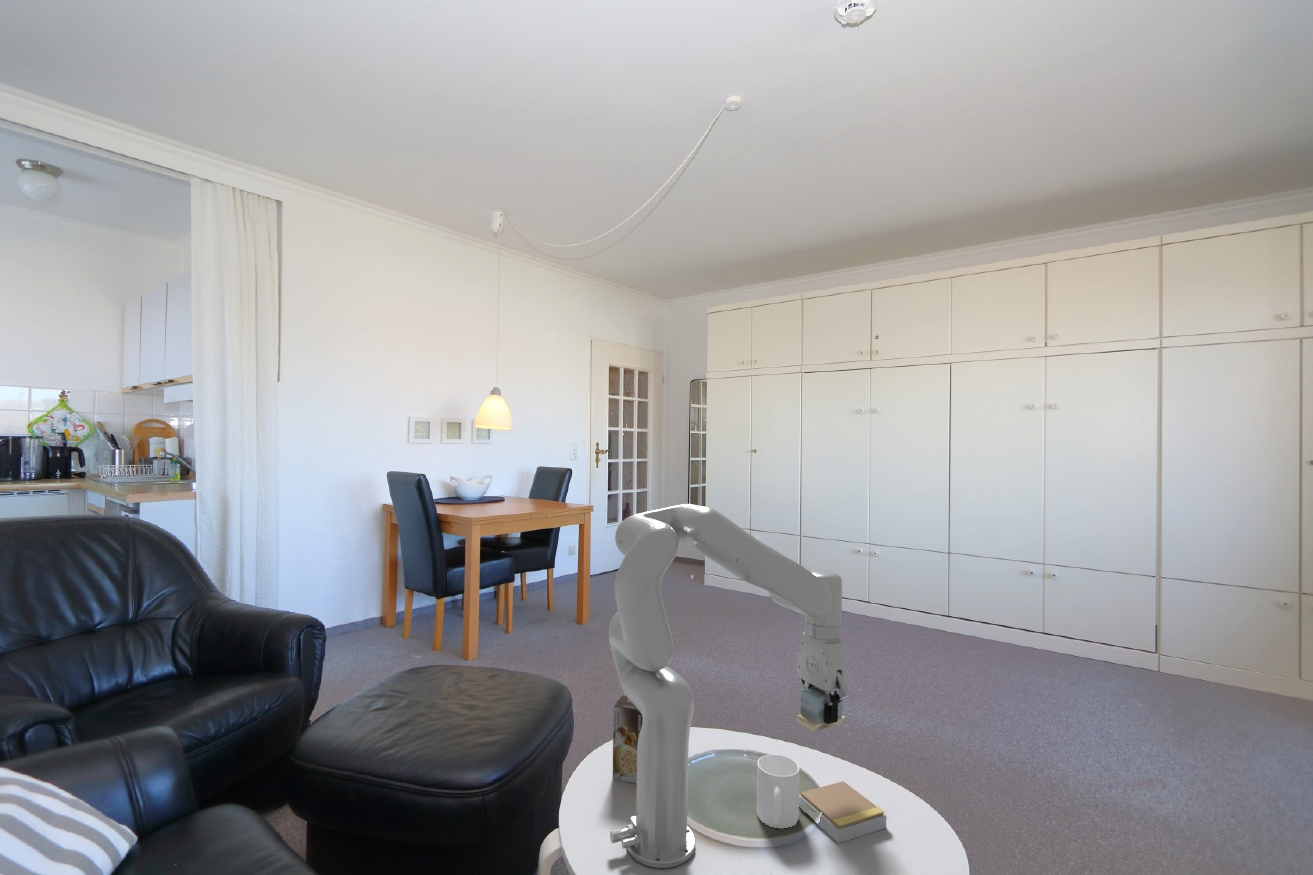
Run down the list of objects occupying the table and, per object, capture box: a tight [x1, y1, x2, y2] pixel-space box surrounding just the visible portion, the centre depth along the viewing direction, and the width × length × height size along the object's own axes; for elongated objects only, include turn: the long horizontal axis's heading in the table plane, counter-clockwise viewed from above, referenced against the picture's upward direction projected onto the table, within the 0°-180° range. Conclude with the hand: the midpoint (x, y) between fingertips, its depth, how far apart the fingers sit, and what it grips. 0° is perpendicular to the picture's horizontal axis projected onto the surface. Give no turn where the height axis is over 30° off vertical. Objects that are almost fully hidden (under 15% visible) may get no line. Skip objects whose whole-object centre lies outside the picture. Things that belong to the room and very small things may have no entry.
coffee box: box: [612, 695, 643, 784], centre depth 129 cm, size 9×6×16 cm
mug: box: [756, 753, 800, 830], centre depth 113 cm, size 12×8×10 cm
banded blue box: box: [796, 687, 847, 732], centre depth 122 cm, size 9×5×6 cm, turn 117°
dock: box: [799, 780, 887, 844], centre depth 115 cm, size 12×12×3 cm
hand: (821, 715), depth 122 cm, fingers closed on banded blue box, 5 cm apart
